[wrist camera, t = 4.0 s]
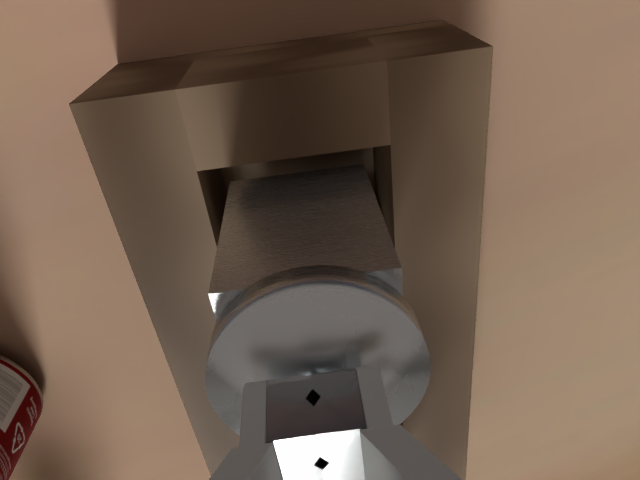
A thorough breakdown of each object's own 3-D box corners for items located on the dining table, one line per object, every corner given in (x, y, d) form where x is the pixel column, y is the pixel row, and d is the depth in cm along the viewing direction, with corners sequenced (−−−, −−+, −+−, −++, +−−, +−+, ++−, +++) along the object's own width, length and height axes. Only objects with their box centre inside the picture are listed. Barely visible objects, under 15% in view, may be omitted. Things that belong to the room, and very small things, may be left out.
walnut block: (442, 20, 18) (492, 46, 14) (437, 427, 30) (463, 508, 26) (117, 64, 18) (68, 104, 14) (241, 454, 30) (235, 539, 26)
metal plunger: (374, 150, 16) (431, 276, 10) (382, 279, 19) (431, 438, 13) (214, 172, 16) (178, 311, 10) (245, 298, 19) (231, 466, 13)
